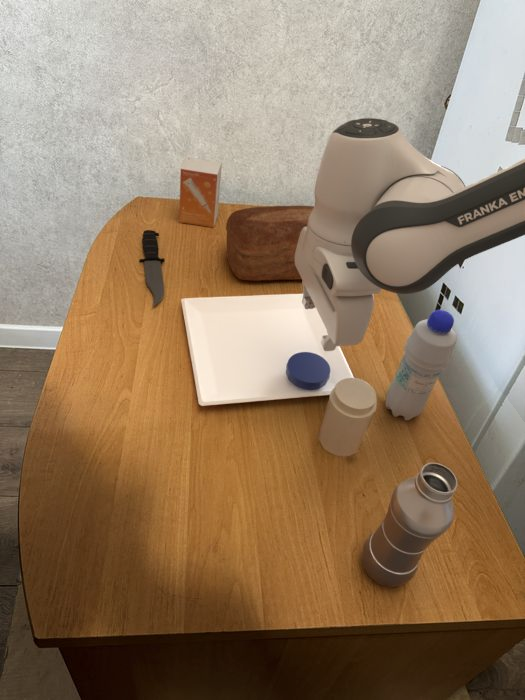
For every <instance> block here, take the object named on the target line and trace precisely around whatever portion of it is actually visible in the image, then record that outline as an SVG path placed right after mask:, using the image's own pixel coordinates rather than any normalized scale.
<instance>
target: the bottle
mask: <svg viewBox="0 0 525 700" xmlns="http://www.w3.org/2000/svg"><path fill="white" fill-rule="evenodd" d="M454 323H455V318H454V316H453V314H451V313H450V312H449V311H446V310H443V309H437V310H434V311H432V312H431V313H430V315H429V317H428V319H427V318H426V319H422V320H420V321H418V323H417V324H415V326H414V328H413V329H412V332H410V334H409V335H408V337H407V338H406V343H405V344H404V349H403V351H404V353H403V355H402V358H401V359H400V363H399V365H398V368H397V369H396V373H395V375H394V377H393V379H392V381H391V382H390V384H389V386H388V388H387V390H386V394H385V407H386V409H388V410H391V414H392V416H393V417H394V418H396V417H398V416H402V417H403V420H404V421H409V420H411V419H413V418H417V417H419V416H420V415H421V414H422V413H423V411H424V410H425V407H426V405H427V403H428V401H429V398H430V396H431V393H432V391H433V389H434V387H435V385H436V383H437V381H438V379H439V377H440V375H441V373H442V371H443V369H444V368H446V367H447V366H448V364H449V362H450V361H451V359H452V357H453V353H454V350H455V347H456V344H457V339H458V338H457V333H456V332H455V330H454V329H453V326H454Z"/></svg>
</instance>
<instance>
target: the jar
mask: <svg viewBox="0 0 525 700" xmlns="http://www.w3.org/2000/svg"><path fill="white" fill-rule="evenodd" d="M376 409H377V393H376V390H375V389H374V387H373V386H372V385H371V384H369V383H368V382H367V381H365V380H363V379H360V378H357V377H354V378H346V379H343V380H341V381H339V382H337V384H336V385H335V387H334V388H333V389H332V391H331V394H330V395H329V397H328V401H327V404H326V407H325V411H324V413H323V417H322V419H321V423H320V427H319V430H318V437H317V438H318V441H319V443H320V446H321V447H322V448H323V449H324V450H325V451H327V452H328V453H330V454H331V455H334V456H337V457H350V456H353V455H355V454H357V453H358V452H359V451H360V449H361V447H362V444H363V441H364V440H365V437H366V434H367V432H368V430H369V427H370V425H371V422H372V419H373V417H374V415H375V412H376Z"/></svg>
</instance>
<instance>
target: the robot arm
mask: <svg viewBox="0 0 525 700" xmlns="http://www.w3.org/2000/svg"><path fill="white" fill-rule="evenodd" d="M313 194H314V205H313V206H314V208H313V210H312V212H311V214H310V216H309V220H308V224H307V227H304V228H303V229H302V231H301V233H300V236H299V240H298V244H297V248H296V252H295V266H296V268H297V270H298V272H299V274H300V276H301V278H302V279H301V280H302V281H301V283H302V294H303V299H302V304H303V306H304V308H305V309H313V308H315V307H316V309H317V311H318V313H319V315H320V317H321V319H322V321H323V323H324V326H325V328H326V330H327V334H328V335H323V336H322V341H321V344H322V347H323V349H324V351H333V350H335V348H336V346H340V347H349V346H356V345H358V344H360V343H362V342H363V340H364V338H365V336H366V334H367V330H368V327H369V325H370V322H371V319H372V316H373V311H374V308H375V297H374V295H380V293H381V292H382V290H384V291H386V292H390V293H393V294H399V295H409V294H416V293H420V292H423V291H425V290H426V289H428V288H431V287H432V286H433V285H435V284H436V283H437V282H438V281H439V280H440V279H441V278H443V277H444V276H445V275H446V274H447V273H448V272H449V271H450V270H452V269H454V267H456V266H457V265H459V264H460V263H462V262H465V261H466V260H468V259H470V258H472V257H474V256H477V255H479V254H481V253H484V252H486V251H489V250H492V249H494V248H496V247H499V246H501V245H504V244H506V243H509V242H511V241H513V240H516V239H519V238H521V237H523V236H525V158H523V159H521V160H519V161H518V162H515V163H514V164H511V165H509V166H507V167H505V168H502V169H501V170H498V171H496V172H494V173H493V174H490V175H488V176H485V177H484V178H482V179H479V180H477V181H475V182H473V183H471V184H468V185H467V186H466V185H465V183H464V181H463V180H462V178H461V177H460V176H459V175H458V174H457V173H456V172H455V171H453V170H452V169H450V168H448V167H445V166H443V165H439V164H437V163H436V162H434V161H432V160H431V159H429V158H428V157H426V156H425V155H424V154H422V152H420V151H419V150H418V149H416V148H415V147H414V146H413V145H412V144H411V143H410V142H409V141H408V139H407V138H406V137H405V135H404V133H403V131H402V129H401V128H400V127H399V126H398V125H397V124H395V123H393V122H392V121H391V122H390V121H388V120H387V119H381V118H373V117H372V118H371V117H365V118H364V117H363V118H357V119H351V120H348V121H346V122H344V123H343V124H341V125H339V126H338V127H337V128H335V129H334V130H333V131H332V132H331V134H330V135H329V137H328V139H327V141H326V144H325V146H324V149H323V153H322V156H321V160H320V164H319V167H318V172H317V175H316V180H315V184H314V193H313Z"/></svg>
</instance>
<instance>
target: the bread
mask: <svg viewBox="0 0 525 700" xmlns="http://www.w3.org/2000/svg"><path fill="white" fill-rule="evenodd" d="M313 208H314V205H273V206H272V205H271V206H256V207H255V206H254V207H247V208H242V209H238V210H234V211H233V212H232V213H230V214H229V216H228V218H227V220H226V224H225V231H226V248H225V249H226V250H225V254H226V258H227V261H228V264H229V266H230V269H231V270H232V273H233V274H234V275H235V276H236V277H237V278H238V279H239V280H243V281H250V282H262V281H263V282H264V281H273V280H277V281H278V280H302V278H301V276H300V274H299V272H298V270H297V268H296V266H295V252H296V248H297V244H298V240H299V236H300V233H301V231H302V229H303V228H304V227H307V224H308V220H309V216H310V214H311V212H312V210H313Z"/></svg>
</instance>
